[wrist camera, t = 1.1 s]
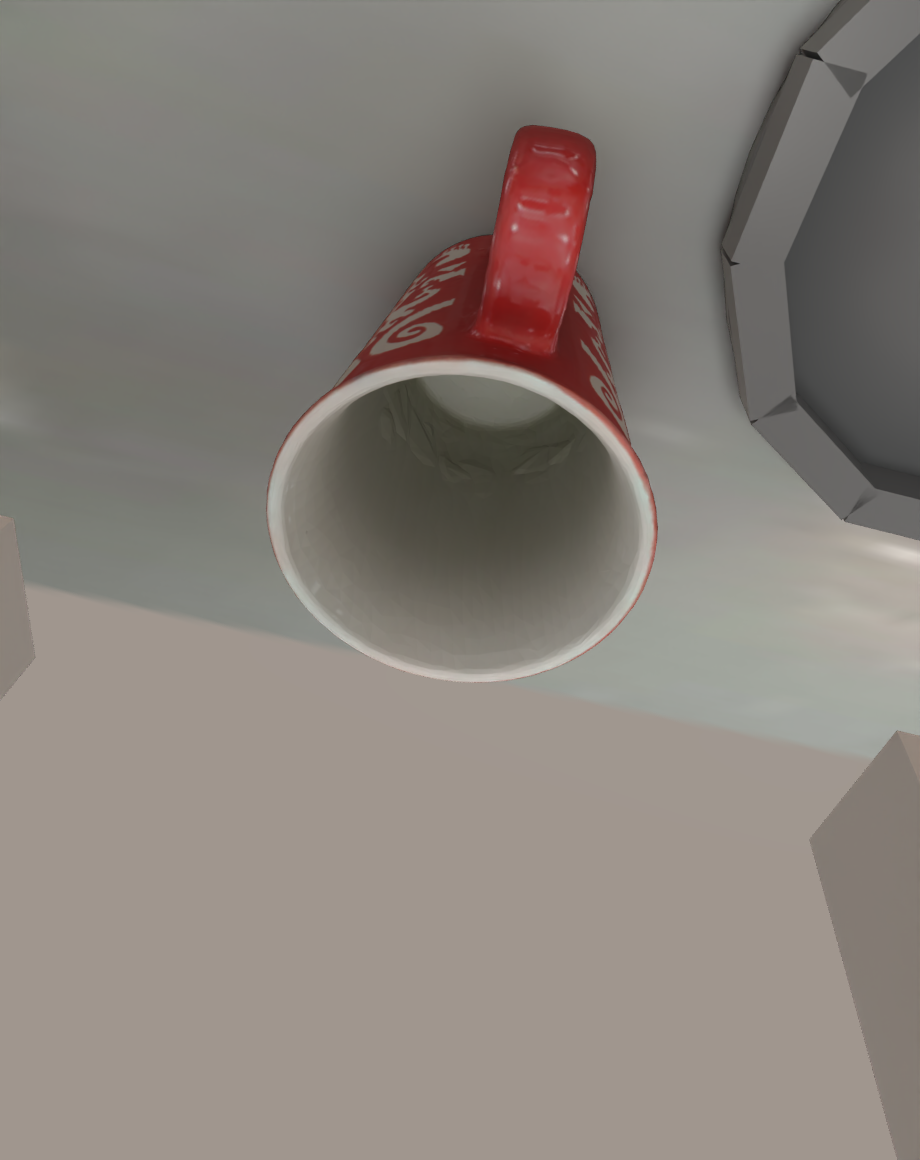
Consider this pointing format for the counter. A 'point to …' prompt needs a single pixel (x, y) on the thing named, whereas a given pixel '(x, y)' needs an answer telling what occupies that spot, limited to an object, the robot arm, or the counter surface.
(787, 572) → the counter surface
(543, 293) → the mug
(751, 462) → the counter surface
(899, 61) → the tray
